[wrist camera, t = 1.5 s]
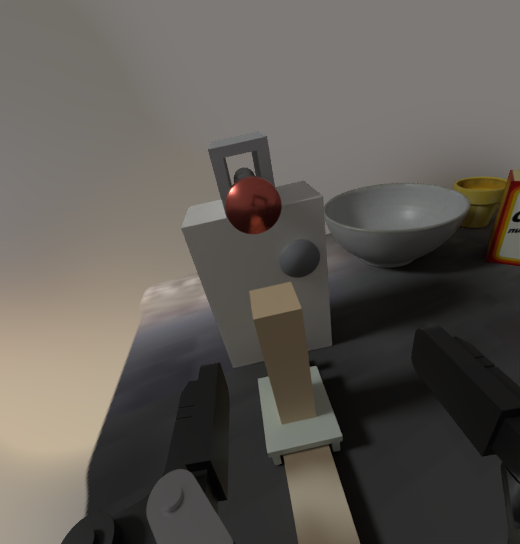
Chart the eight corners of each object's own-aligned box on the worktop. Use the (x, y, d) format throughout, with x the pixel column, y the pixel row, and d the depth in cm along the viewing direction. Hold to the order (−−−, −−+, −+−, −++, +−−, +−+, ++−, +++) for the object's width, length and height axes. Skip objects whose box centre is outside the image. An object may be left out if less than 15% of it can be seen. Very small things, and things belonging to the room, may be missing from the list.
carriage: (261, 392, 37) (227, 281, 27) (317, 379, 37) (304, 263, 27) (272, 466, 29) (229, 348, 19) (343, 449, 29) (337, 324, 19)
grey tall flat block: (231, 332, 48) (170, 151, 32) (316, 313, 48) (298, 122, 32) (233, 371, 41) (154, 162, 25) (333, 348, 41) (320, 124, 25)
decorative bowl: (458, 232, 62) (470, 180, 56) (455, 300, 44) (472, 236, 38) (344, 226, 77) (343, 184, 70) (308, 276, 59) (302, 226, 52)
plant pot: (510, 222, 62) (524, 180, 57) (477, 235, 60) (489, 193, 54) (466, 211, 70) (475, 173, 65) (436, 222, 68) (443, 184, 63)
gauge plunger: (230, 201, 31) (220, 162, 29) (266, 193, 31) (259, 153, 29) (233, 239, 22) (218, 185, 19) (285, 227, 22) (277, 172, 19)
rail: (269, 370, 40) (264, 351, 37) (301, 363, 40) (298, 343, 37) (321, 667, 18) (317, 663, 16) (391, 651, 18) (396, 645, 16)
